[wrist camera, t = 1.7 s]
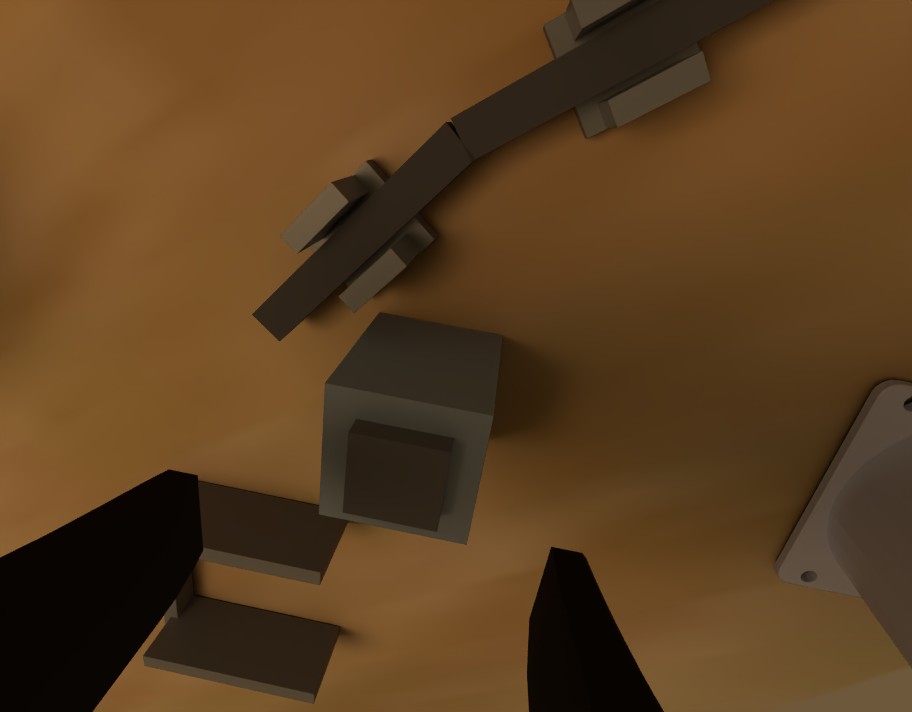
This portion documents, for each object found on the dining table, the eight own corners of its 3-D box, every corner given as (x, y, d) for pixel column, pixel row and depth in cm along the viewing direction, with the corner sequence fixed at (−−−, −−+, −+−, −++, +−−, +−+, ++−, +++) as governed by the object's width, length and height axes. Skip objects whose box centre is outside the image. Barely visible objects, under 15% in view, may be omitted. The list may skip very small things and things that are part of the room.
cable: (797, -137, 11) (822, -161, 10) (834, -34, 11) (861, -47, 10) (244, 276, 16) (227, 285, 15) (289, 331, 17) (275, 344, 16)
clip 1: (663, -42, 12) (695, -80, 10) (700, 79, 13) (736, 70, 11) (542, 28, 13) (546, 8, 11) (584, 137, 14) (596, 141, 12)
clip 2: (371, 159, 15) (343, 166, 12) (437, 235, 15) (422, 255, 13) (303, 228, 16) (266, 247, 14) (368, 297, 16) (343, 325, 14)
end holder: (348, 511, 20) (320, 572, 17) (338, 635, 23) (313, 703, 20) (168, 474, 21) (114, 528, 18) (182, 601, 24) (137, 664, 21)
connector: (502, 334, 16) (492, 429, 11) (481, 439, 18) (463, 562, 13) (379, 312, 17) (315, 395, 12) (369, 417, 18) (310, 530, 13)
